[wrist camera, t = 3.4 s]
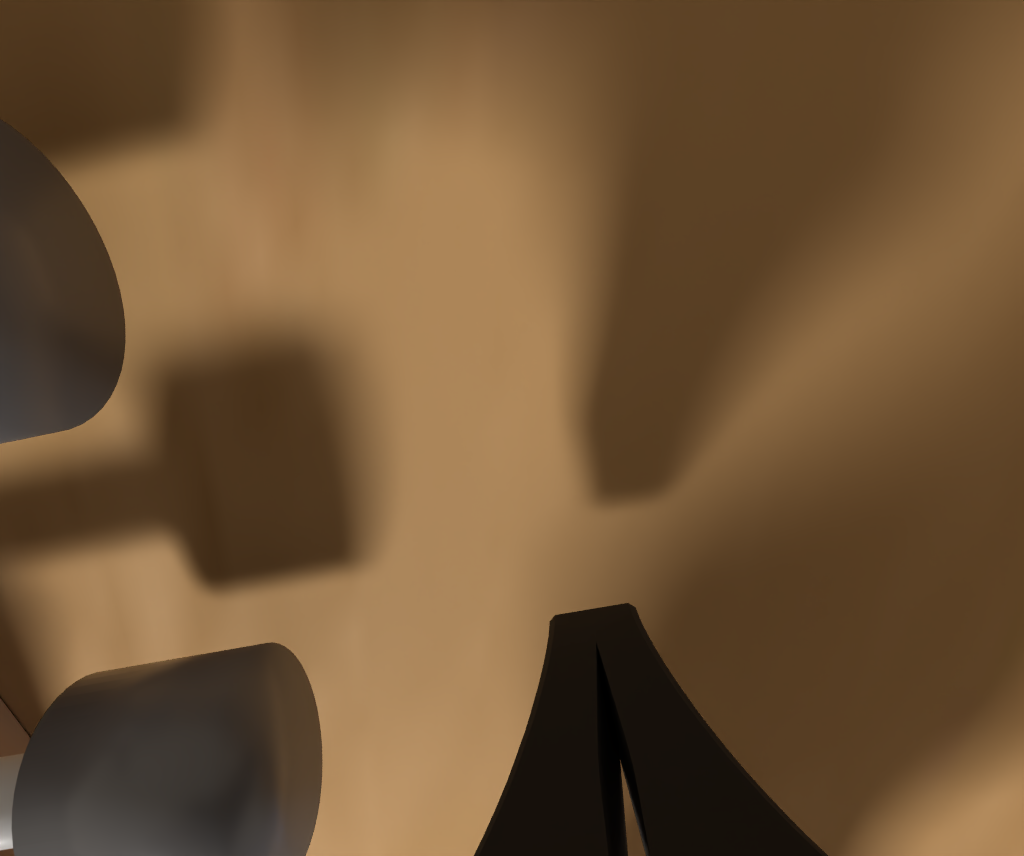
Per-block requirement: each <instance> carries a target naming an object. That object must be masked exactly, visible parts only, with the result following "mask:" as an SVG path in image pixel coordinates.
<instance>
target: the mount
mask: <svg viewBox="0 0 1024 856" xmlns="http://www.w3.org/2000/svg"><path fill="white" fill-rule="evenodd" d="M29 741H30V737H29V736H28V734H27V733H26V732H25V730H24V729H23V728H22V726H21V725H20V724H19V722H18V721H17V720H16V718H15V717H14V716H13V714H12V713H11V712H10V710H9V709H8V708H7V706H6V705H5V704H4V703H3V701H2V700H1V699H0V757H5V756H11V755H17V754H23V753H25V751H26V748H27V746H28V743H29ZM0 856H15V855H14V850H13V848H12V849H5V850H0Z"/></svg>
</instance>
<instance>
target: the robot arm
mask: <svg viewBox="0 0 1024 856" xmlns="http://www.w3.org/2000/svg"><path fill="white" fill-rule="evenodd" d="M620 760H621V764H622V768H623V771H624V775H625V779H626V783H627V786H628V790H629V794H630V798H631V801H632V805H633V809H634V813H635V816H636V820H637V824H638V827H639V831H640V835H641V839H642V842H643V846H644V850H645V854H646V856H828V855H827V854H826V853H825V852H824V851H823V850H822V849H821V848H820V847H818V846H817V845H816V844H815V843H814V842H813V841H812V840H811V839H810V838H809V837H808V836H807V835H806V834H805V833H804V832H803V831H802V830H801V829H800V828H799V827H798V826H797V825H796V824H795V823H794V822H793V821H792V820H791V819H790V818H789V817H788V816H787V815H786V814H785V813H784V812H783V811H782V810H781V809H780V808H779V807H778V806H777V805H776V804H775V802H774V801H773V800H772V799H771V798H770V797H769V796H768V795H767V794H766V793H765V792H764V791H763V789H762V788H761V787H760V786H759V785H758V784H757V783H756V782H755V781H754V780H753V779H752V777H751V776H750V775H749V774H748V773H747V772H746V771H745V769H744V768H743V767H742V766H741V765H740V764H739V763H738V761H737V760H736V759H735V758H734V757H733V755H732V754H731V753H730V752H729V751H728V749H727V748H726V747H725V746H724V744H723V743H722V742H721V741H720V739H719V738H718V737H717V736H716V734H715V733H714V732H713V731H712V729H711V728H710V727H709V726H708V724H707V723H706V722H705V721H704V719H703V718H702V717H701V715H700V714H699V713H698V711H697V710H696V709H695V707H694V706H693V704H692V703H691V702H690V700H689V699H688V697H687V696H686V694H685V693H684V692H683V690H682V689H681V687H680V686H679V684H678V683H677V682H676V680H675V679H674V677H673V676H672V674H671V673H670V671H669V670H668V668H667V667H666V665H665V663H664V662H663V660H662V659H661V657H660V655H659V654H658V652H657V650H656V649H655V647H654V645H653V643H652V642H651V640H650V638H649V636H648V634H647V632H646V630H645V629H644V627H643V624H642V622H641V620H640V618H639V615H638V613H637V610H636V608H635V607H634V606H632V605H631V604H629V603H625V604H619V605H613V606H607V607H601V608H595V609H589V610H583V611H577V612H571V613H565V614H559V615H555V616H554V617H553V618H552V620H551V621H550V626H549V637H548V644H547V650H546V655H545V660H544V665H543V669H542V673H541V678H540V682H539V686H538V689H537V693H536V696H535V700H534V703H533V707H532V710H531V714H530V717H529V721H528V724H527V727H526V730H525V733H524V736H523V739H522V742H521V744H520V747H519V750H518V753H517V756H516V759H515V761H514V764H513V767H512V770H511V773H510V775H509V778H508V780H507V783H506V785H505V788H504V790H503V793H502V795H501V798H500V800H499V802H498V805H497V807H496V809H495V812H494V814H493V816H492V818H491V821H490V823H489V825H488V827H487V830H486V832H485V834H484V836H483V838H482V840H481V842H480V844H479V846H478V848H477V850H476V852H475V854H474V856H628V851H627V838H626V826H625V814H624V801H623V789H622V777H621V765H620Z"/></svg>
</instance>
